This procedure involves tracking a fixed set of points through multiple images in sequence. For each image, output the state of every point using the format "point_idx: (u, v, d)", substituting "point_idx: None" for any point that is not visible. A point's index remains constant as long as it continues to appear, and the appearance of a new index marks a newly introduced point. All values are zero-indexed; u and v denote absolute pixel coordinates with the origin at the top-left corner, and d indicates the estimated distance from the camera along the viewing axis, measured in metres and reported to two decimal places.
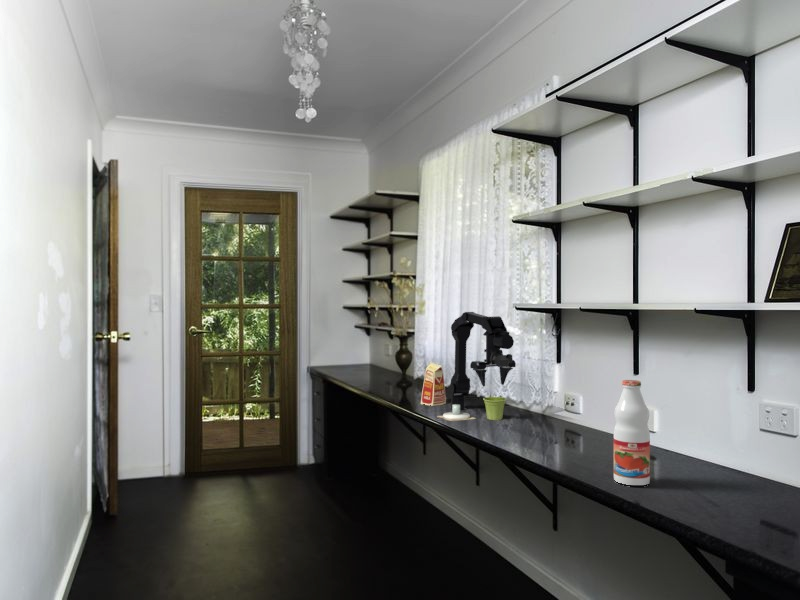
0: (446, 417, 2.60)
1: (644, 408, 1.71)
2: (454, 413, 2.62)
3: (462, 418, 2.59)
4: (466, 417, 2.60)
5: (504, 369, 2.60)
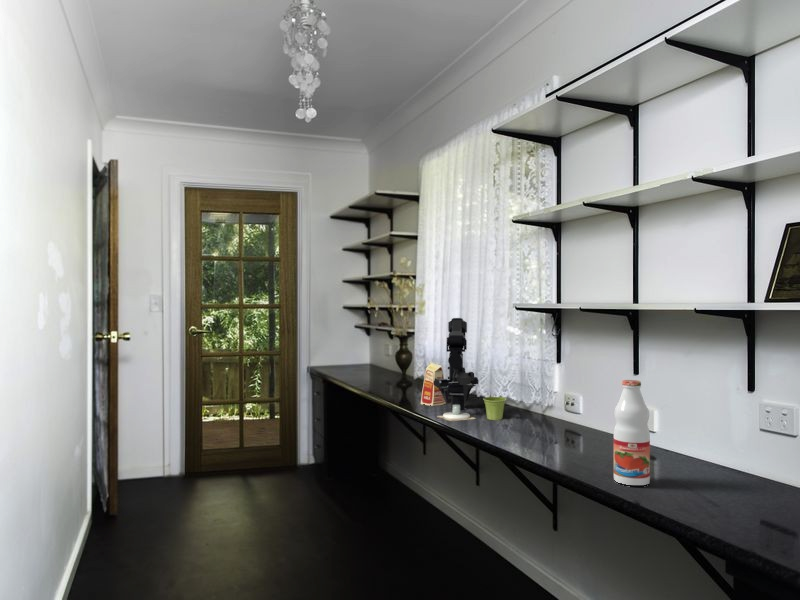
0: (446, 417, 2.60)
1: (644, 408, 1.71)
2: (454, 413, 2.62)
3: (462, 418, 2.59)
4: (466, 417, 2.60)
5: (467, 386, 2.65)
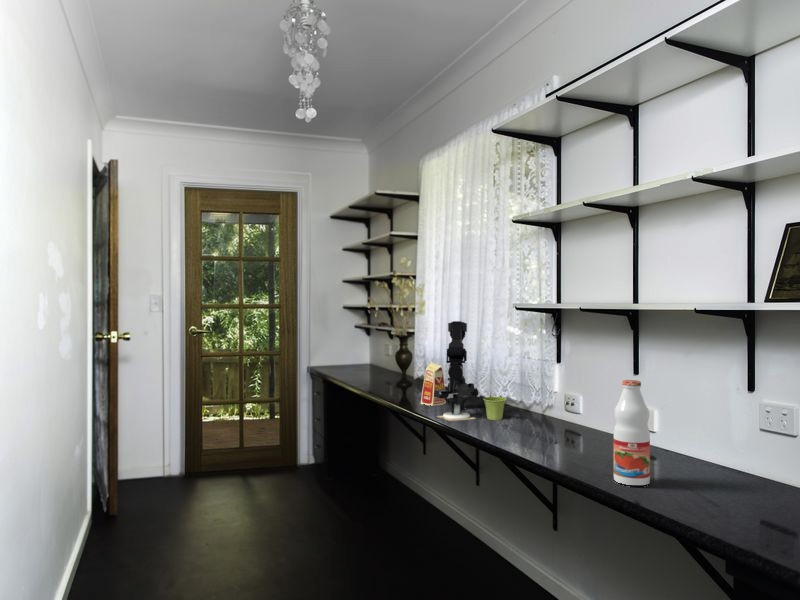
0: (446, 417, 2.60)
1: (644, 408, 1.71)
2: (454, 413, 2.62)
3: (462, 418, 2.59)
4: (466, 417, 2.60)
5: (461, 398, 2.64)
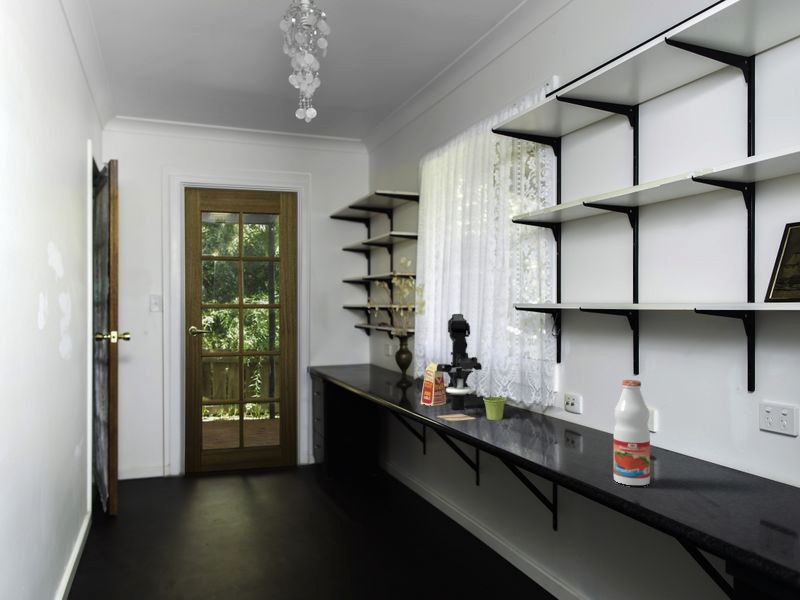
0: (449, 391, 2.60)
1: (644, 408, 1.71)
2: (457, 387, 2.62)
3: (465, 392, 2.58)
4: (469, 391, 2.59)
5: (464, 372, 2.64)
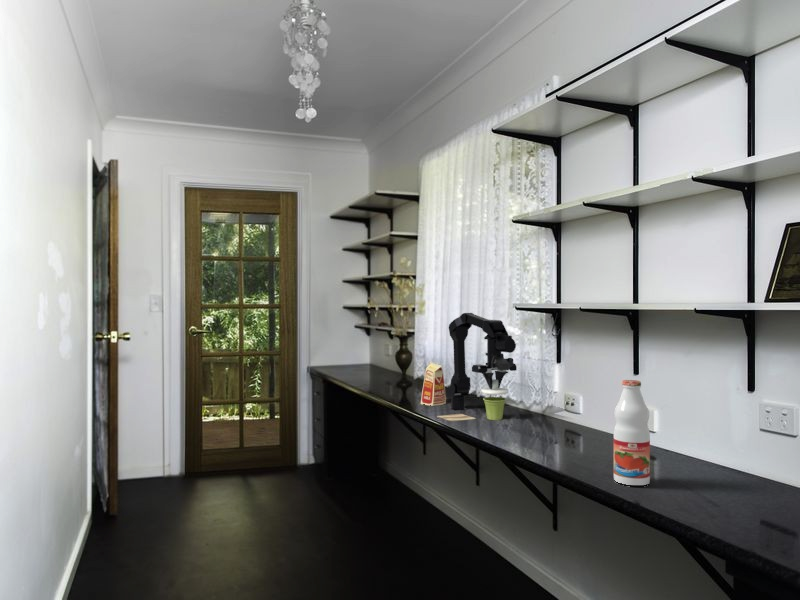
0: (485, 392, 2.58)
1: (644, 408, 1.71)
2: (492, 388, 2.60)
3: (501, 393, 2.56)
4: (505, 392, 2.57)
5: (499, 373, 2.61)
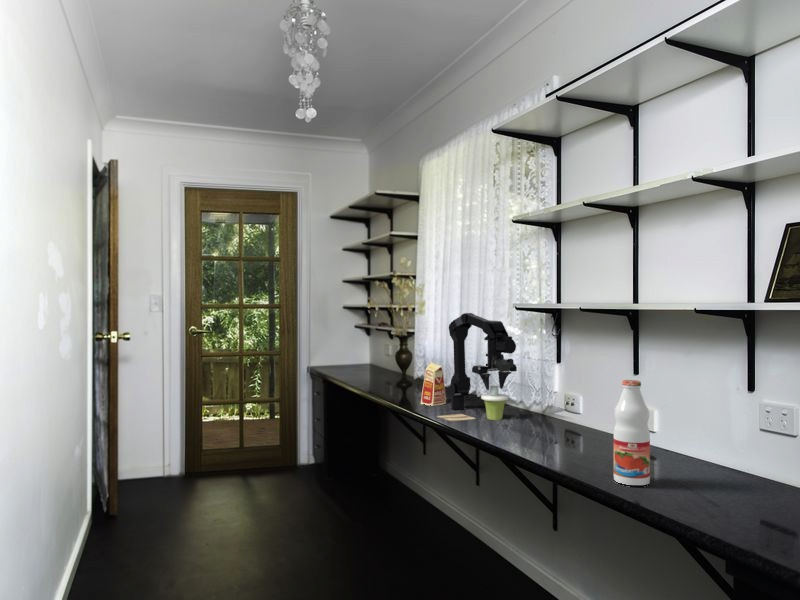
0: (484, 398, 2.58)
1: (644, 408, 1.71)
2: (492, 394, 2.60)
3: (501, 399, 2.56)
4: (505, 398, 2.57)
5: (503, 373, 2.62)
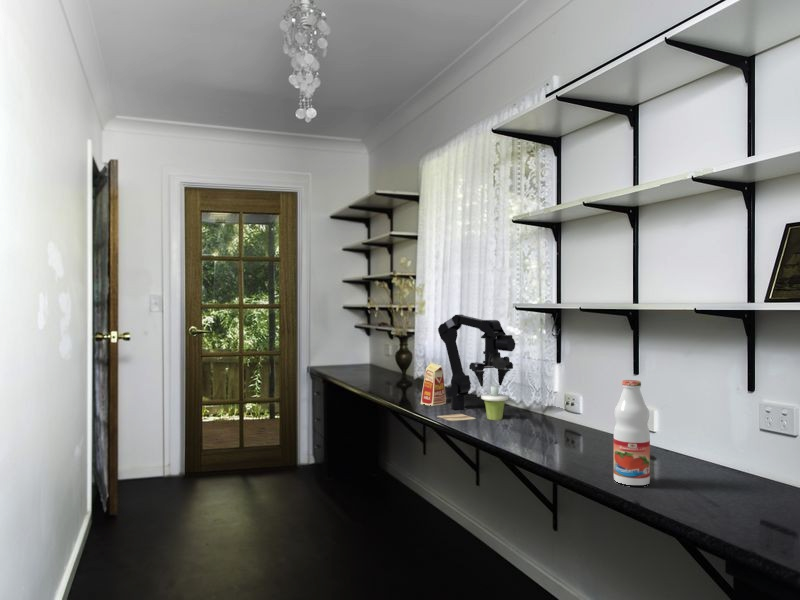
0: (484, 398, 2.58)
1: (644, 408, 1.71)
2: (492, 394, 2.60)
3: (501, 399, 2.56)
4: (505, 398, 2.57)
5: (502, 370, 2.72)
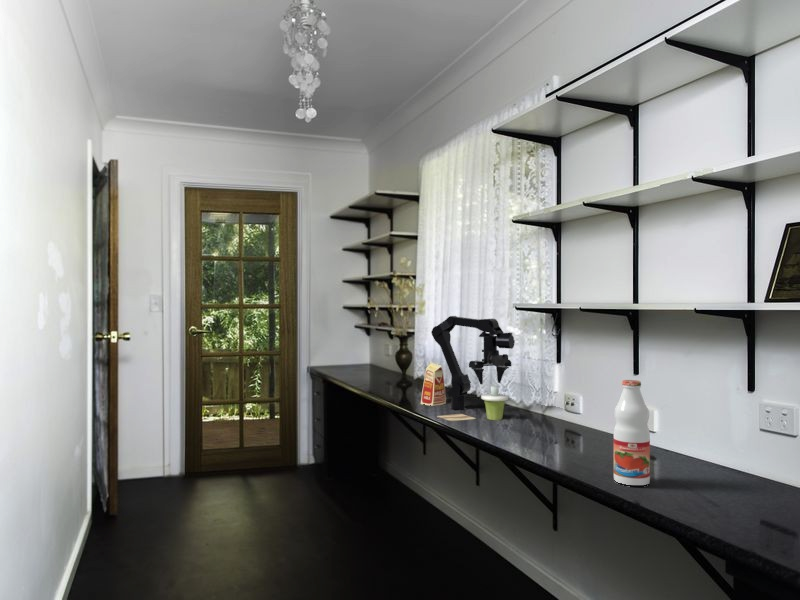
0: (484, 398, 2.58)
1: (644, 408, 1.71)
2: (492, 394, 2.60)
3: (501, 399, 2.56)
4: (505, 398, 2.57)
5: (500, 368, 2.76)
